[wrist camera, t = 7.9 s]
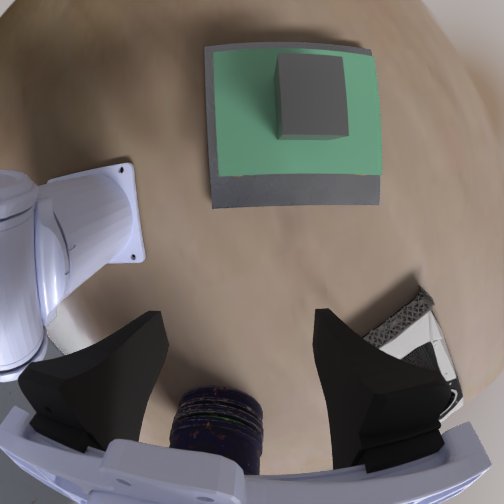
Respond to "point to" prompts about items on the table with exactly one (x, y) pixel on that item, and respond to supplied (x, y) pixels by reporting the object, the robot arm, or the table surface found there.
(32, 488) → the flask
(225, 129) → the board
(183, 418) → the dark ridged cylinder
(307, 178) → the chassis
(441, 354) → the graphics card
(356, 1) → the table surface
